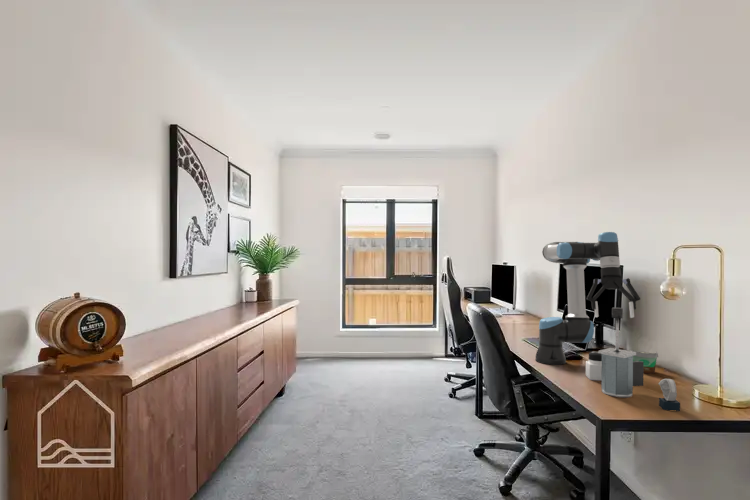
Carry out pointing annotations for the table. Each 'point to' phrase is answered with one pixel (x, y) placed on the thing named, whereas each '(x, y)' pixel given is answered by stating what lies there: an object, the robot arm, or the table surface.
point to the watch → (669, 395)
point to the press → (620, 372)
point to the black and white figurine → (594, 366)
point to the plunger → (617, 324)
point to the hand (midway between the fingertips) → (614, 317)
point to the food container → (646, 361)
